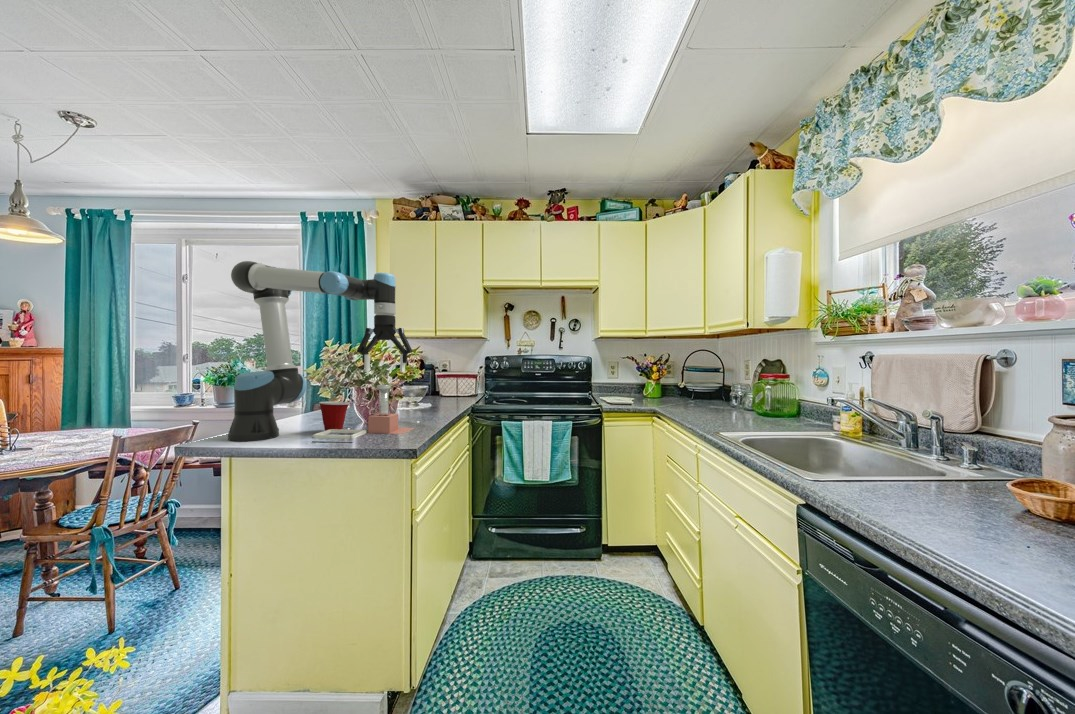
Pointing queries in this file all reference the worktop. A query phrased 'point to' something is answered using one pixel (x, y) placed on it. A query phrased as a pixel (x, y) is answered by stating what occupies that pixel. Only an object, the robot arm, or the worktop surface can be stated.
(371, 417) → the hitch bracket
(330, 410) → the plastic cup
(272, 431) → the robot arm
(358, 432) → the tray
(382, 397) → the pin
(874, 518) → the worktop surface
